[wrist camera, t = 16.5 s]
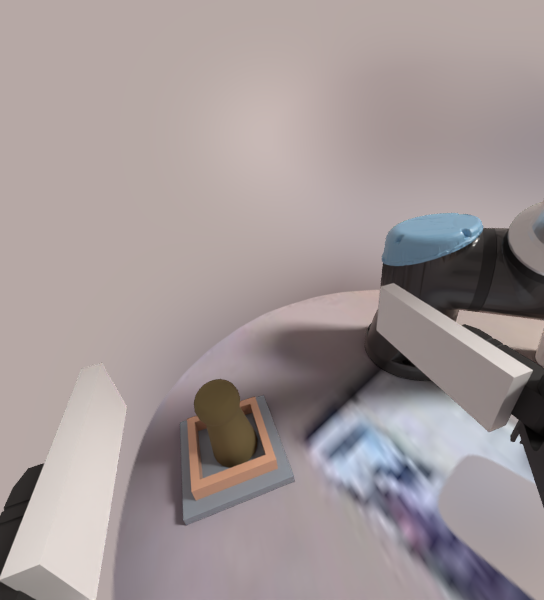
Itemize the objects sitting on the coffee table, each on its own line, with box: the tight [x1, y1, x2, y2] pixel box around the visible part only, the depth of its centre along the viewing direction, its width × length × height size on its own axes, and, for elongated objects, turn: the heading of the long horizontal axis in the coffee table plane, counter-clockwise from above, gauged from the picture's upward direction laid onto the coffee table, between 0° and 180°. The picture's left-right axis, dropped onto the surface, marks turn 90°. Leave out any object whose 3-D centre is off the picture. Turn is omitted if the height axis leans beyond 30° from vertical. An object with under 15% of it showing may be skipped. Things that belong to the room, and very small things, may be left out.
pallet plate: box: [180, 395, 294, 525], centre depth 38 cm, size 13×13×3 cm
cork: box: [194, 379, 257, 468], centre depth 35 cm, size 6×6×11 cm
